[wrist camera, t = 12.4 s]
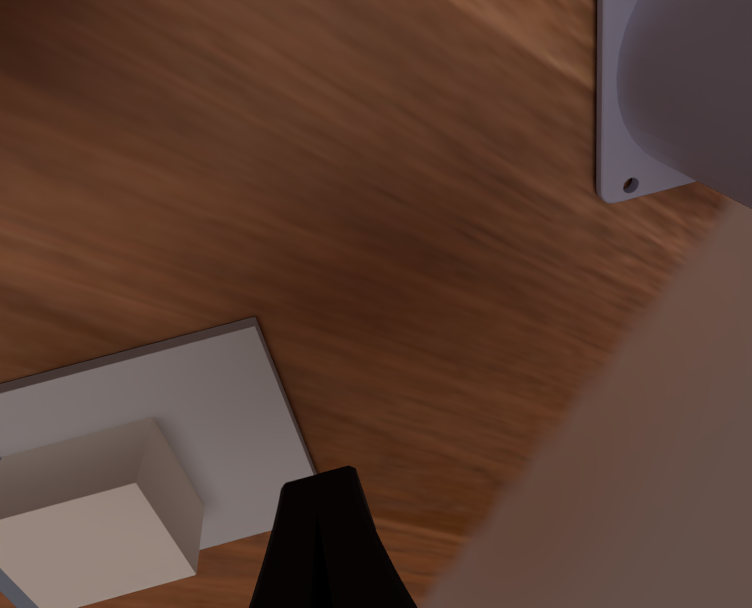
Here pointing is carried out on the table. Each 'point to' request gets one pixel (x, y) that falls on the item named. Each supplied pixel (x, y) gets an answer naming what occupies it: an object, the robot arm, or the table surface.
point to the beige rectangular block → (96, 518)
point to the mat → (180, 418)
